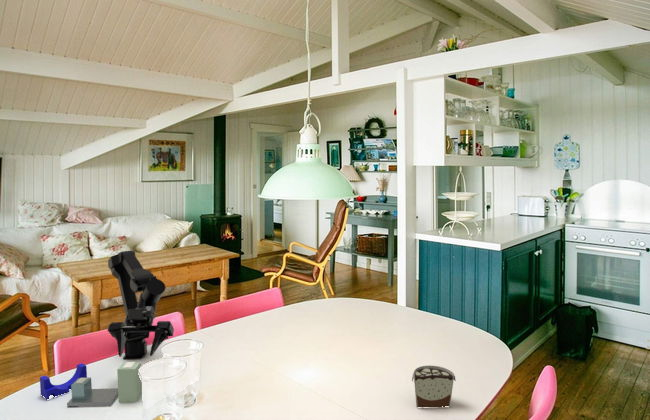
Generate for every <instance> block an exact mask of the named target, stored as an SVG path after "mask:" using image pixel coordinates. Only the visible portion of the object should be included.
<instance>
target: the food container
mask: <svg viewBox="0 0 650 420" xmlns="http://www.w3.org/2000/svg"><path fill="white" fill-rule="evenodd" d="M456 380H457V379H456V376H455V373H454V372H453V371H451V370H450V369H448V368H446V367H443V366H440V365H439V366H437V365H423V366H417V367H416V368H415V369H414V370H413V373H412V376H411V382H413V383H414V395H415V403H416V405H415V406H416V408H417V407H442V406H443V407H445V406H449V407H450V408H451V401H452V394H453V387H454V382H456Z"/></svg>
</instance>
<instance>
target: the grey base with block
mask: <svg viewBox="0 0 650 420" xmlns="http://www.w3.org/2000/svg"><path fill="white" fill-rule="evenodd" d="M92 386H93V385H92V377H87V378H78V379H77V380H76V381H75V382H74V383H73V384H72V385H71V390H70V391H71V398H70V399H69V400H68V402H67V403H66V407H67V406H93V407H111V406H112V405H113V404H114V402H116V400H117V399H118V387H114V388H113V387H112V388H111V387H109V388H92Z"/></svg>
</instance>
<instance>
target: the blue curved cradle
mask: <svg viewBox="0 0 650 420" xmlns="http://www.w3.org/2000/svg"><path fill="white" fill-rule="evenodd" d="M78 378H88V373H87V365H86V364H84V363H81V362H80V363H79V364H76V369H75V373H74V374H73V375H72V377H71V378H69V379H68V380H67V381H65V382H64V383H61V384H52V383H51V379H50V377H48V376H47V375H46V374H45V375H41V376H40V377H39V384H40V385H39V387H40V396H41V395H42V396H44V397H45V398H46V399H49V396H50V395H53V396H54V397H55V396H58V395H61V394H64V393H67V392H69V393H70V390H69V389H71V385H72V384H73V383H74V382H75V381H76V380H77V379H78ZM67 394H68V393H67ZM64 395H65V394H64ZM61 396H62V395H61Z"/></svg>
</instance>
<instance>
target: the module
mask: <svg viewBox="0 0 650 420" xmlns="http://www.w3.org/2000/svg"><path fill="white" fill-rule="evenodd" d="M140 367H141V368H142V362H141V361H138V362H137V361H127V362H126V361H125V362H123V363H121V364H120V366H119V367H118V368H116V369H117V370H116V371H117V388H118V397H117V399H118V400H117V401H118V404H119V403H120V404H121V403H137V402H138V400H139V399H140V398H141V396H142V395H143V392H142V391H143V390H142V389H143V388H142V387H143V386H142V385H143V384H142V379H141V380H140V378H139V375H138V369H139V368H140ZM141 394H142V395H141Z"/></svg>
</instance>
